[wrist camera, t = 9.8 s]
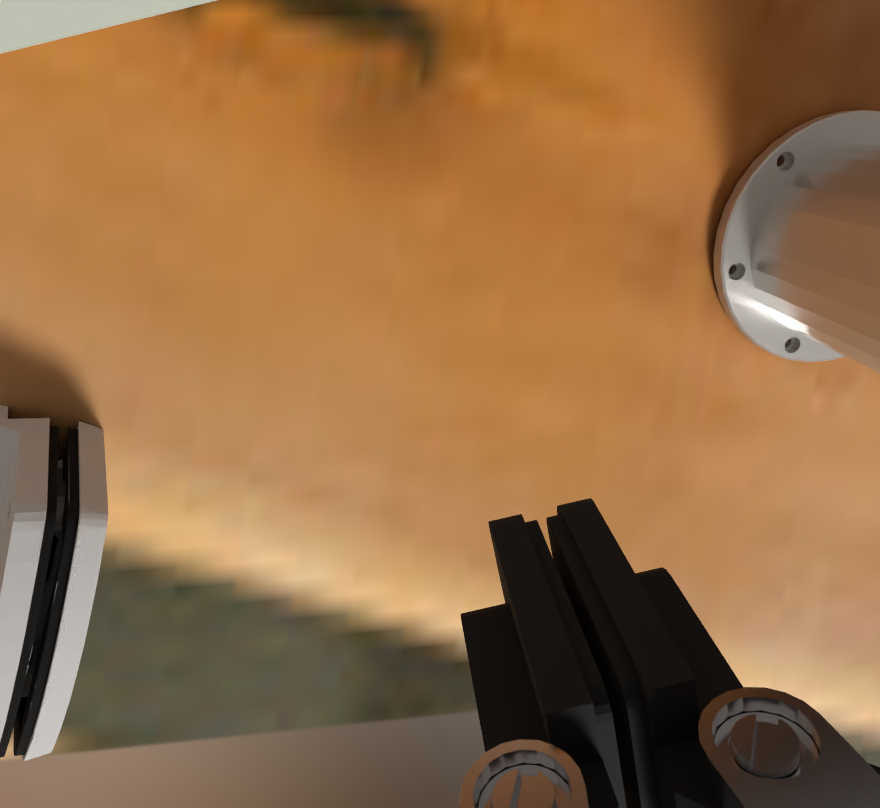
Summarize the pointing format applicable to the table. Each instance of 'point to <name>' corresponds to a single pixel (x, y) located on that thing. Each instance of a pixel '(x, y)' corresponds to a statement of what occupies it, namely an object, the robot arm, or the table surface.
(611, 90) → the table surface
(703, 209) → the table surface
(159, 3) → the card
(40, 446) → the grey piece
